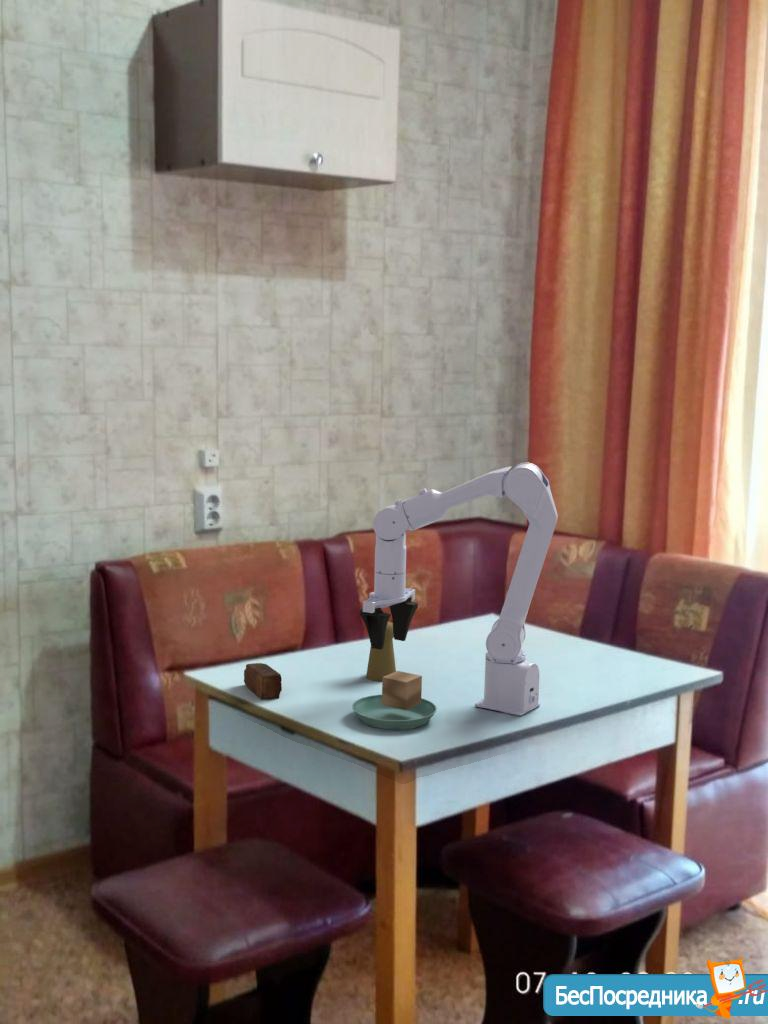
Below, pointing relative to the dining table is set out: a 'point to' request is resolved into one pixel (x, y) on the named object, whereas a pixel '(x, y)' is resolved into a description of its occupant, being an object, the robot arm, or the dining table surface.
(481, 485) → the robot arm
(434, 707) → the saucer
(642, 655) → the dining table surface
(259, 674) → the brick
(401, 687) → the walnut block
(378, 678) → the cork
